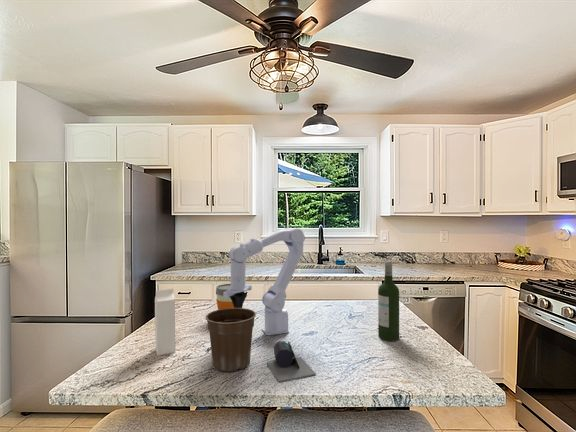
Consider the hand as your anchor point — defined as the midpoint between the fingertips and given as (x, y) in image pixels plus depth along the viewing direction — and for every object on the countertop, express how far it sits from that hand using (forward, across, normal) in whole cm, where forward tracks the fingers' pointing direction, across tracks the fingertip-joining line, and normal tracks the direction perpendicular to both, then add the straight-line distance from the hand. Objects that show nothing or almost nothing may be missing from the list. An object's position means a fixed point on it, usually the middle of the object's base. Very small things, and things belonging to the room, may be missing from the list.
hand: (238, 311), depth 127 cm
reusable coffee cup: (+11, +16, +19) cm, 27 cm away
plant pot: (+11, -17, -12) cm, 24 cm away
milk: (+11, -22, +15) cm, 29 cm away
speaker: (+8, -5, -24) cm, 25 cm away
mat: (+10, -11, -31) cm, 34 cm away
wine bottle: (+10, +31, -50) cm, 60 cm away
